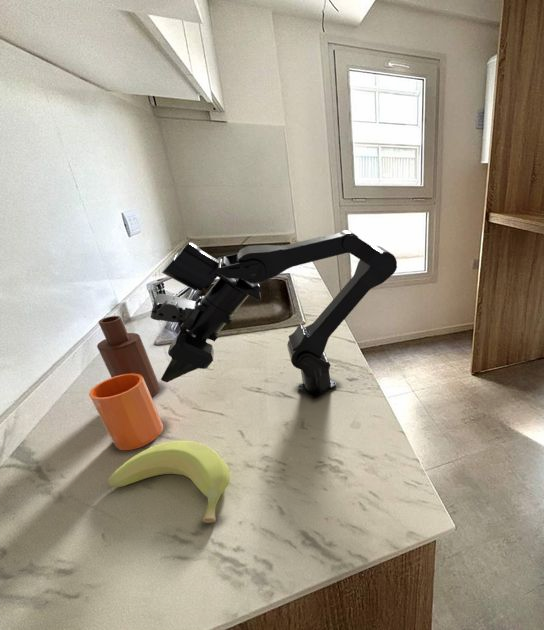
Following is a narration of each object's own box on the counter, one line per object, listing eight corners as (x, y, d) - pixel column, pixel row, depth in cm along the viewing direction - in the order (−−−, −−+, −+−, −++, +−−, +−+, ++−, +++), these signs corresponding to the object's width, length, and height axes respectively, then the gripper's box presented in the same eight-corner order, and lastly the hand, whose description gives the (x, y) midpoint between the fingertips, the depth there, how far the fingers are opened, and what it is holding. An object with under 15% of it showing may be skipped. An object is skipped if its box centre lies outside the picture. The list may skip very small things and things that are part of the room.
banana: (183, 412, 60) (239, 483, 50) (198, 428, 64) (253, 497, 54) (95, 473, 52) (140, 571, 42) (118, 487, 56) (164, 580, 46)
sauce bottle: (165, 391, 76) (136, 318, 68) (128, 408, 71) (92, 330, 63) (153, 381, 80) (124, 309, 72) (118, 395, 75) (82, 320, 67)
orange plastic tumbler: (169, 432, 65) (149, 383, 60) (122, 456, 60) (96, 405, 55) (154, 416, 69) (134, 368, 64) (109, 438, 64) (83, 388, 58)
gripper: (181, 264, 65) (130, 325, 65) (166, 298, 50) (101, 377, 50) (235, 295, 71) (189, 351, 71) (237, 333, 56) (178, 403, 56)
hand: (167, 367), depth 62 cm, fingers open, 9 cm apart
